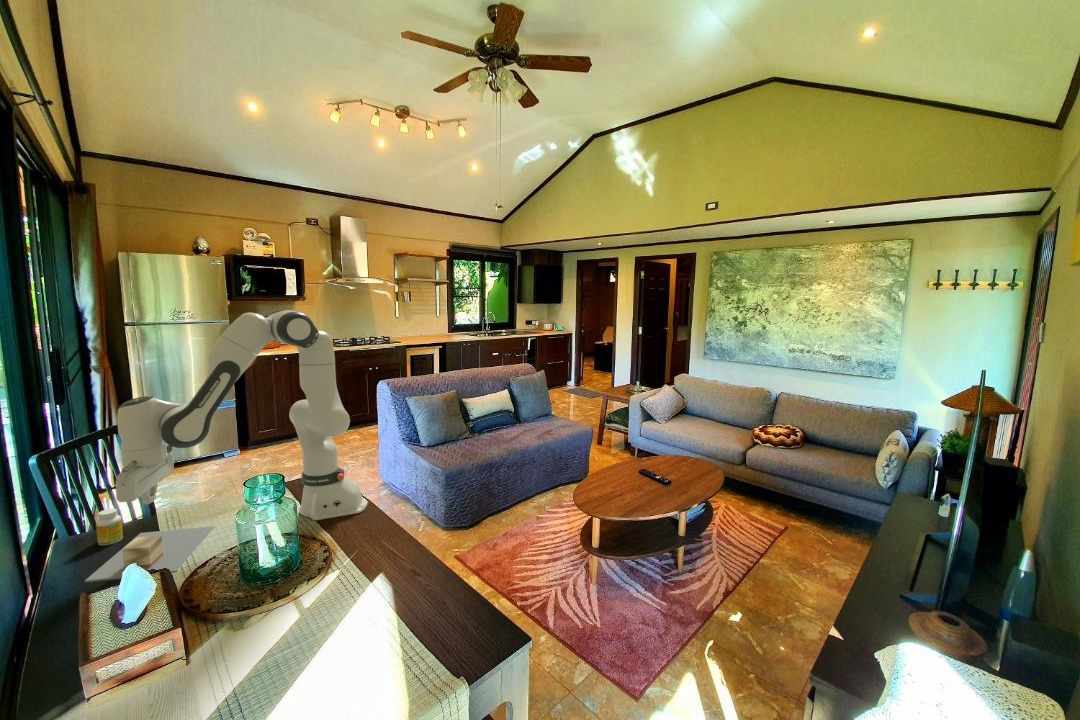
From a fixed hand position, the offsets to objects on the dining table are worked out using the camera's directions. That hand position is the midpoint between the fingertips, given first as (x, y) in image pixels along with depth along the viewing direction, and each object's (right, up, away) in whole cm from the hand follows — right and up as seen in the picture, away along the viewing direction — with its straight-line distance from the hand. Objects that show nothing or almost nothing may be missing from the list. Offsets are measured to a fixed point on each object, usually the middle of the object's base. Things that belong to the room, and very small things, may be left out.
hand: (149, 502), depth 123 cm
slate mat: (-1, -16, +4) cm, 17 cm away
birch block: (0, -10, -2) cm, 11 cm away
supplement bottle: (-19, -15, +8) cm, 26 cm away
